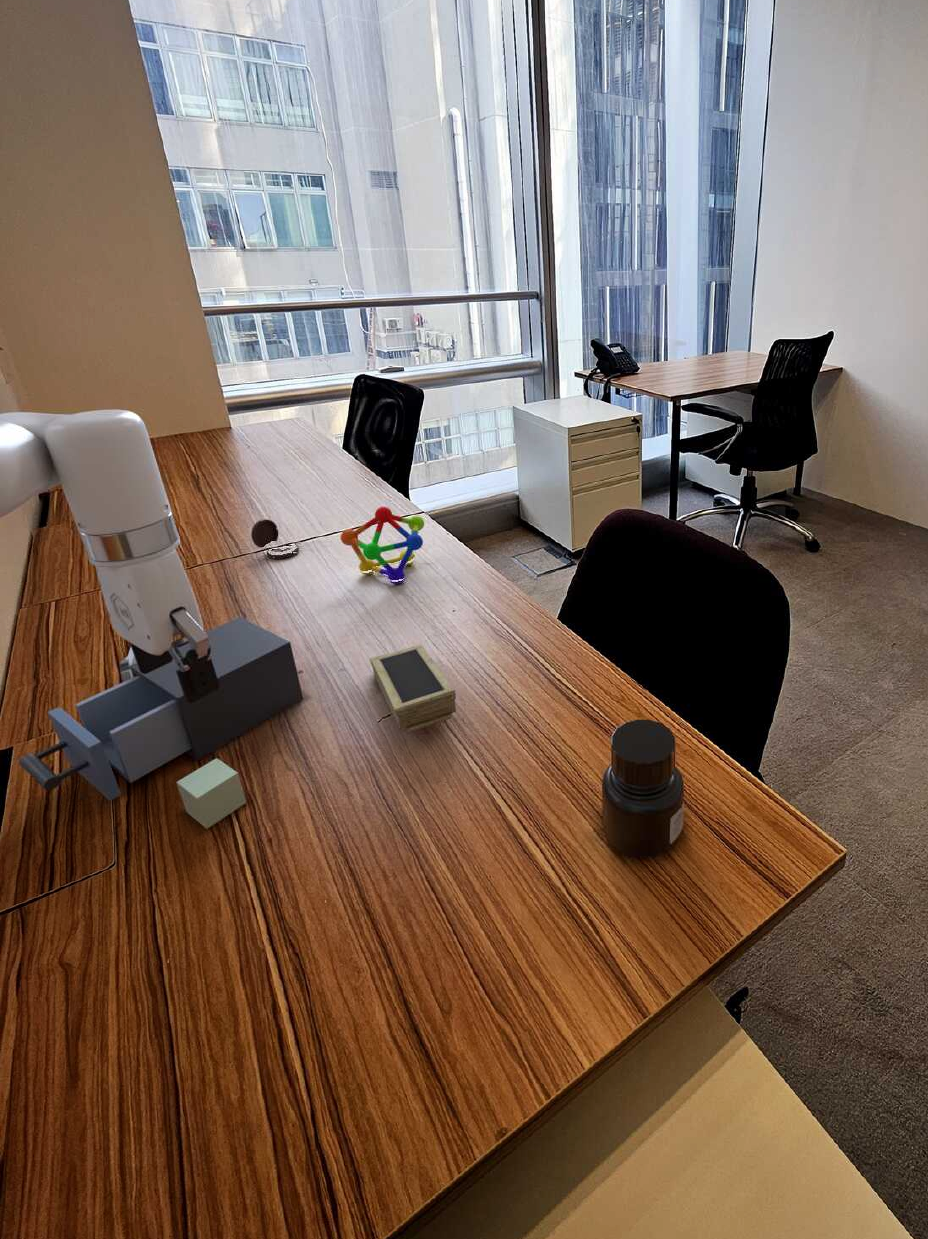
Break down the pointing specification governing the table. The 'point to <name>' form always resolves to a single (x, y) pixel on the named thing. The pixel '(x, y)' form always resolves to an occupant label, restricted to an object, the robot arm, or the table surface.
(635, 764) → the ink bottle
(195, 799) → the block
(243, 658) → the cabinet
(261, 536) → the compass
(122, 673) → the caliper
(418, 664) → the box
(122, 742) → the drawer
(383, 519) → the educational toy
